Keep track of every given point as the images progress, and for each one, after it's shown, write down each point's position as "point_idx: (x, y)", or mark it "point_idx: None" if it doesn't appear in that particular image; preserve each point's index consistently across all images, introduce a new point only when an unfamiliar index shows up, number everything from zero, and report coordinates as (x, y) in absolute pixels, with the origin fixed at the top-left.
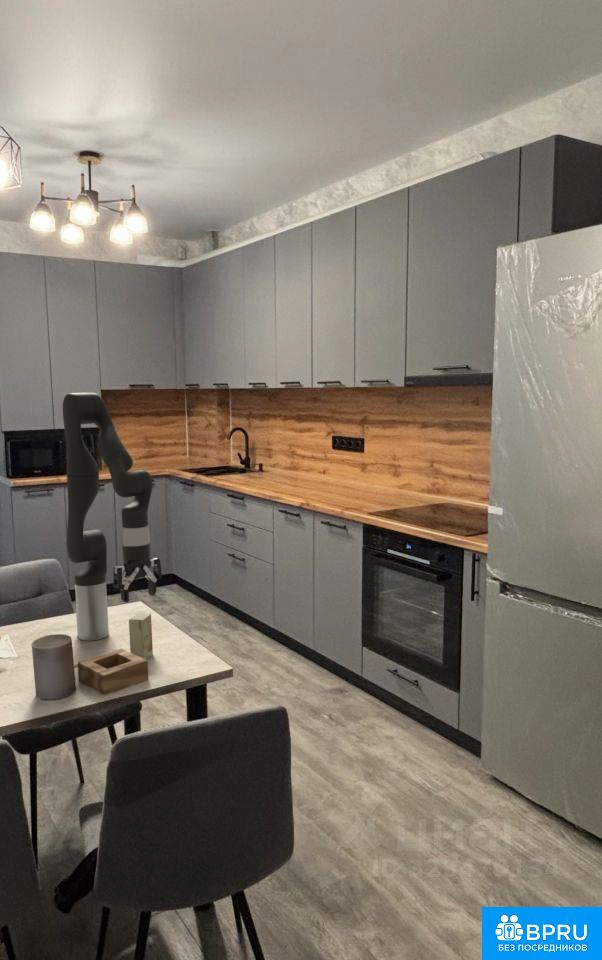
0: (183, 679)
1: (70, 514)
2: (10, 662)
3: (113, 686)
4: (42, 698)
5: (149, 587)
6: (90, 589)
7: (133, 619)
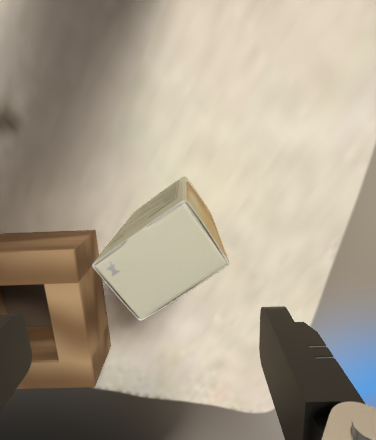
0: (172, 394)
1: None
2: None
3: None
4: None
5: (281, 364)
6: None
7: (110, 283)
